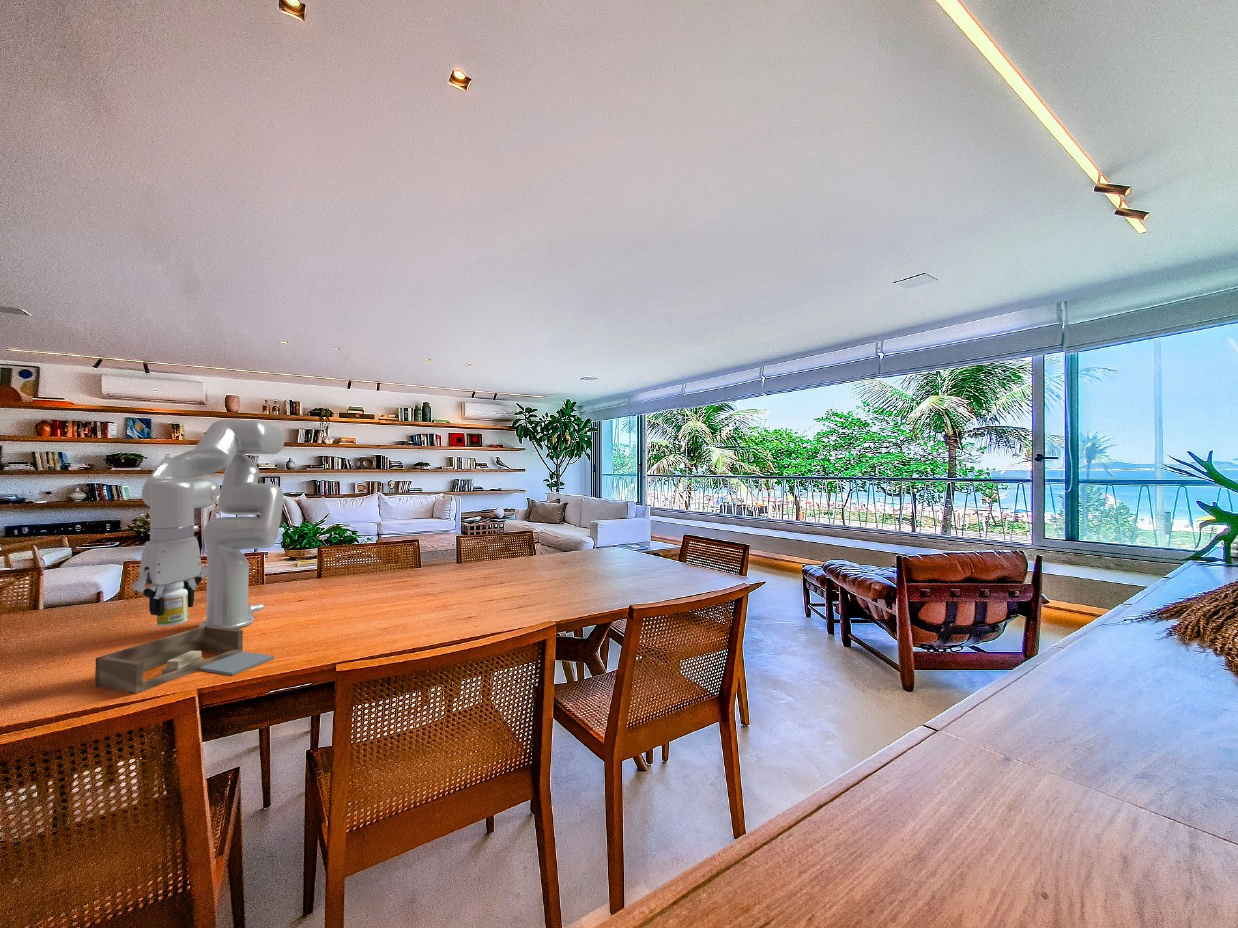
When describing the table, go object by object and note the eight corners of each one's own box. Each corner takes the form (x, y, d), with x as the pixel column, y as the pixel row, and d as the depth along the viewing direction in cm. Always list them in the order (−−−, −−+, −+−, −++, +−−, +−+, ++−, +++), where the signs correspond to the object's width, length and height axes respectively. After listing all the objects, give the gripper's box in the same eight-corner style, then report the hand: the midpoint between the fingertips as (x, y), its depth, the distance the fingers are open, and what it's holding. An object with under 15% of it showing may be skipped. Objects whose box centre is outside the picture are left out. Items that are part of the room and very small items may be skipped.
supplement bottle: (170, 619, 116) (169, 578, 116) (194, 618, 116) (193, 578, 116) (150, 627, 110) (149, 584, 110) (175, 626, 111) (175, 584, 111)
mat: (242, 653, 121) (242, 651, 121) (274, 658, 119) (274, 655, 119) (199, 670, 112) (199, 667, 112) (232, 675, 109) (232, 672, 109)
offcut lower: (195, 665, 115) (195, 657, 115) (204, 666, 115) (204, 658, 115) (161, 677, 108) (161, 668, 108) (170, 679, 108) (170, 670, 108)
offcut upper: (190, 658, 114) (190, 650, 114) (201, 658, 114) (201, 650, 114) (166, 669, 108) (166, 660, 108) (178, 669, 108) (178, 661, 108)
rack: (206, 648, 124) (206, 625, 124) (242, 653, 121) (242, 629, 121) (95, 686, 103) (95, 657, 103) (135, 693, 100) (136, 664, 100)
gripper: (200, 527, 122) (200, 598, 123) (114, 538, 105) (115, 621, 106) (223, 529, 120) (222, 601, 121) (139, 541, 104) (139, 625, 104)
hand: (172, 609), depth 113 cm, fingers closed on supplement bottle, 5 cm apart
